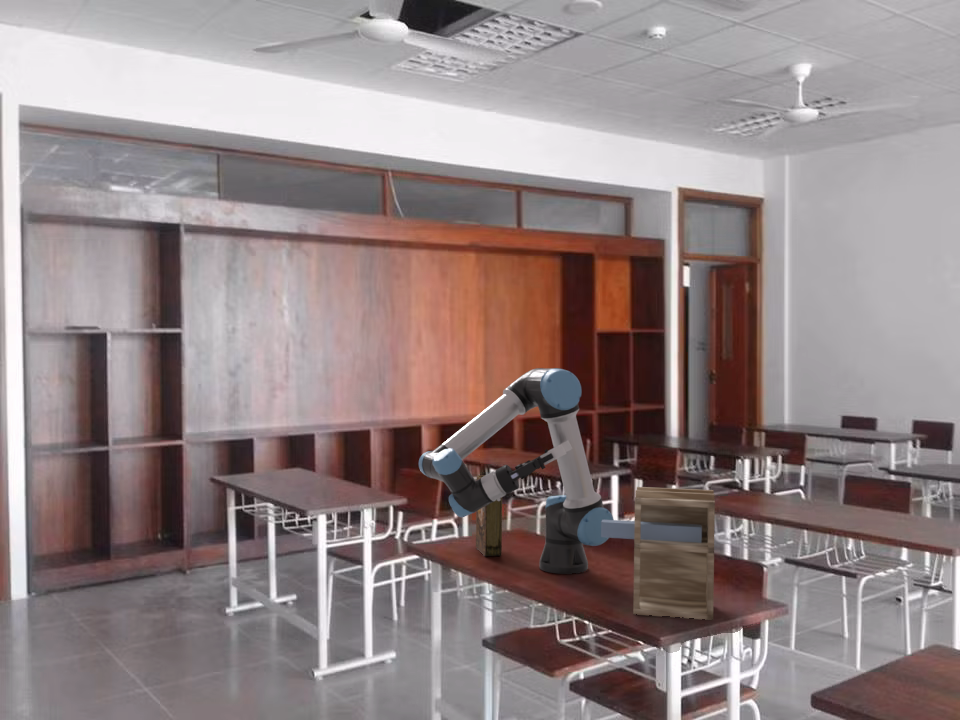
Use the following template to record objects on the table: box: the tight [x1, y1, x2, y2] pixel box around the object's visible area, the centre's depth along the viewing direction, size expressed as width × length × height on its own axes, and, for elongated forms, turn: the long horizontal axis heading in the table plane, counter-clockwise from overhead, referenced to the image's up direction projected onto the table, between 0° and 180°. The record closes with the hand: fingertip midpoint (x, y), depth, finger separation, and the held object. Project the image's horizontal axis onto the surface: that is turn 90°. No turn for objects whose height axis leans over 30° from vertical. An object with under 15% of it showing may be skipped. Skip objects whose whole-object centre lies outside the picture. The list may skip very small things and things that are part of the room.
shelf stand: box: [632, 486, 716, 621], centre depth 236 cm, size 14×20×32 cm
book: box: [475, 474, 503, 557], centre depth 303 cm, size 16×6×25 cm, turn 12°
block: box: [601, 519, 702, 543], centre depth 237 cm, size 4×26×4 cm, turn 78°
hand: (567, 446), depth 246 cm, fingers open, 13 cm apart
